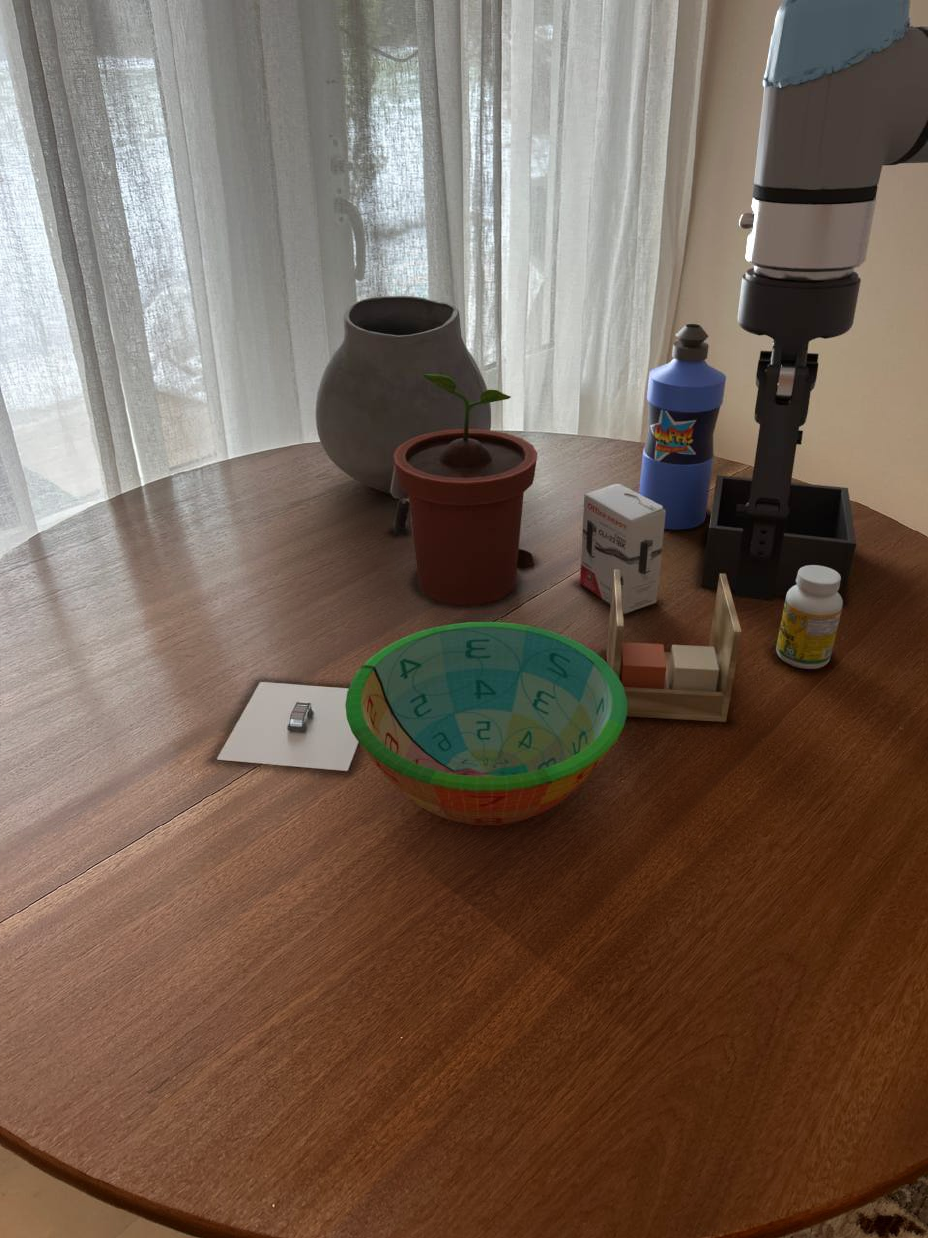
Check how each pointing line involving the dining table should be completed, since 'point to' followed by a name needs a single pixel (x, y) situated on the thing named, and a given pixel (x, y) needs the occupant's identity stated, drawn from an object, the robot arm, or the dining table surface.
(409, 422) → the ceramic pot
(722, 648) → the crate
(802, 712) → the dining table surface
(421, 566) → the potted plant
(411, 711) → the bowl
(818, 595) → the supplement bottle
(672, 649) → the cream block
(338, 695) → the white square sheet
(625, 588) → the ink box
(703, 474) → the water bottle
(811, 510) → the basket
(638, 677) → the terracotta block
